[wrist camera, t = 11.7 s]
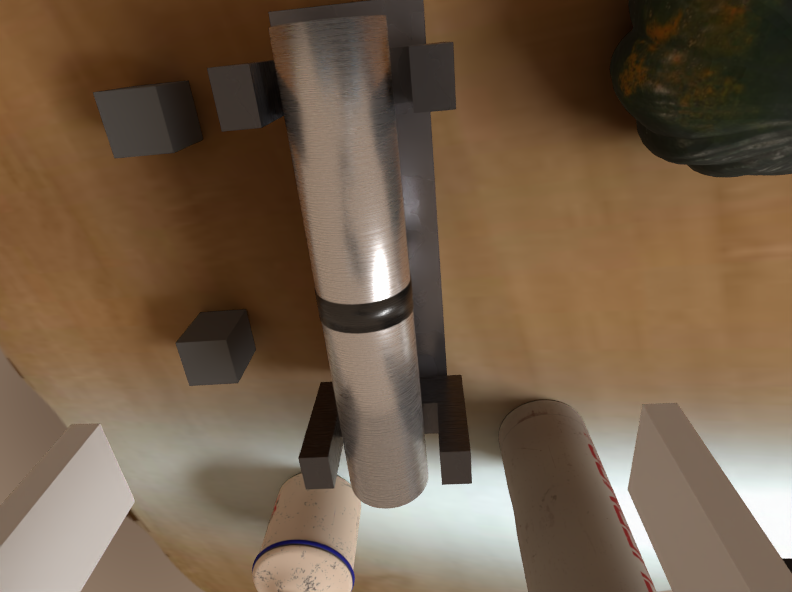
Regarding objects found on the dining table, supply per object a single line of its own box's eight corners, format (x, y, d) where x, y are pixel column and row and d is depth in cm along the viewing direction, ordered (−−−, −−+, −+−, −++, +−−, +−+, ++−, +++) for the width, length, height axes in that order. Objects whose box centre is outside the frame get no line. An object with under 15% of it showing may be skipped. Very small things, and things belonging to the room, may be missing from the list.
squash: (688, -208, 24) (749, 27, 19) (992, -169, 25) (1140, 69, 19) (572, 42, 37) (587, 223, 32) (772, 63, 38) (822, 245, 32)
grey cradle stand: (285, 19, 34) (192, 4, 20) (438, 2, 33) (450, -25, 19) (344, 373, 46) (312, 515, 32) (457, 366, 45) (473, 510, 31)
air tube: (288, 29, 25) (248, 27, 20) (394, 17, 24) (378, 13, 19) (357, 448, 36) (342, 507, 31) (431, 449, 35) (426, 510, 31)
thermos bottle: (583, 393, 46) (776, 815, 21) (587, 460, 49) (757, 892, 24) (493, 405, 47) (575, 821, 22) (503, 470, 50) (584, 894, 25)
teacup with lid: (262, 476, 52) (222, 585, 42) (347, 459, 51) (328, 568, 40) (305, 554, 57) (279, 669, 47) (383, 541, 56) (374, 656, 45)
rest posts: (133, 86, 36) (92, 92, 32) (188, 80, 36) (155, 86, 31) (212, 352, 46) (189, 385, 41) (256, 349, 45) (238, 383, 41)
